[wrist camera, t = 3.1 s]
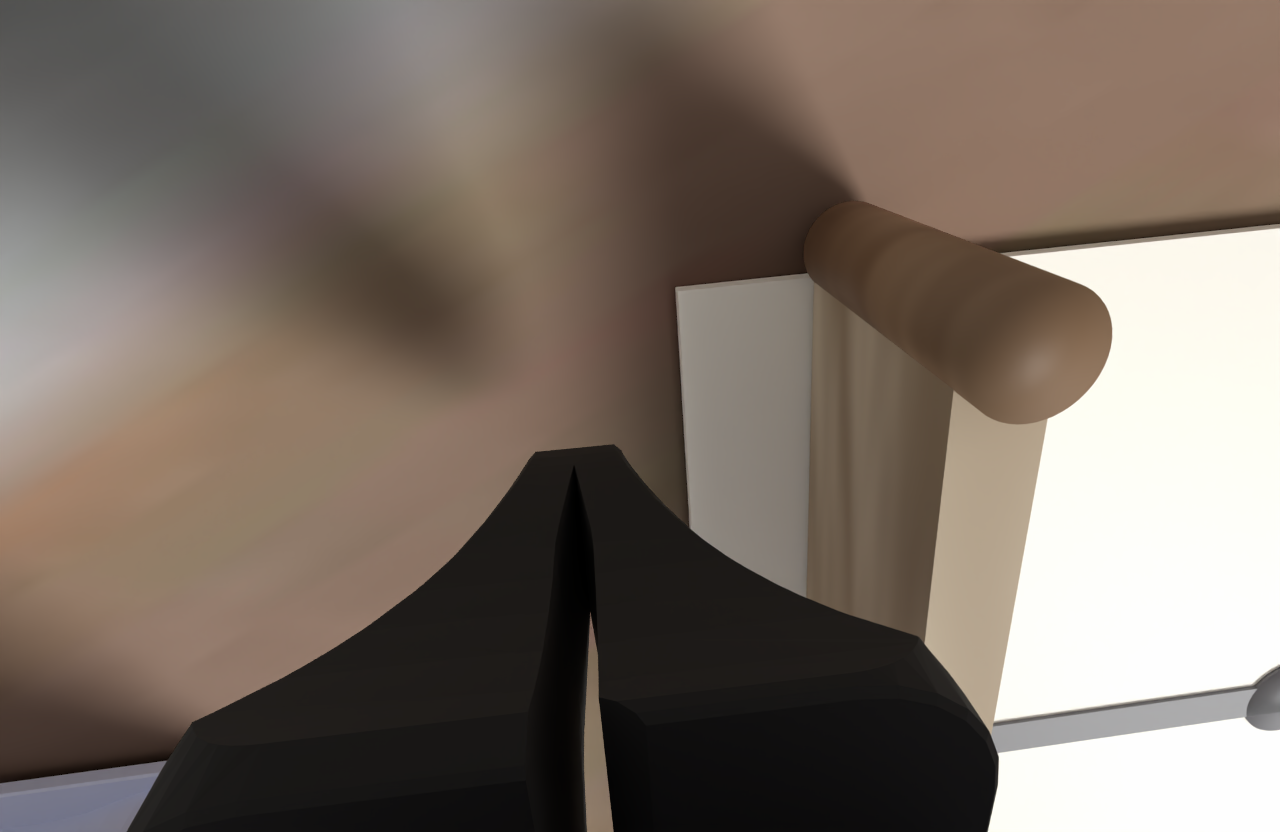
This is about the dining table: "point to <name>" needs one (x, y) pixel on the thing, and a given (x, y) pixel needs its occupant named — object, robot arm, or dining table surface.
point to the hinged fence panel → (934, 427)
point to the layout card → (1074, 529)
